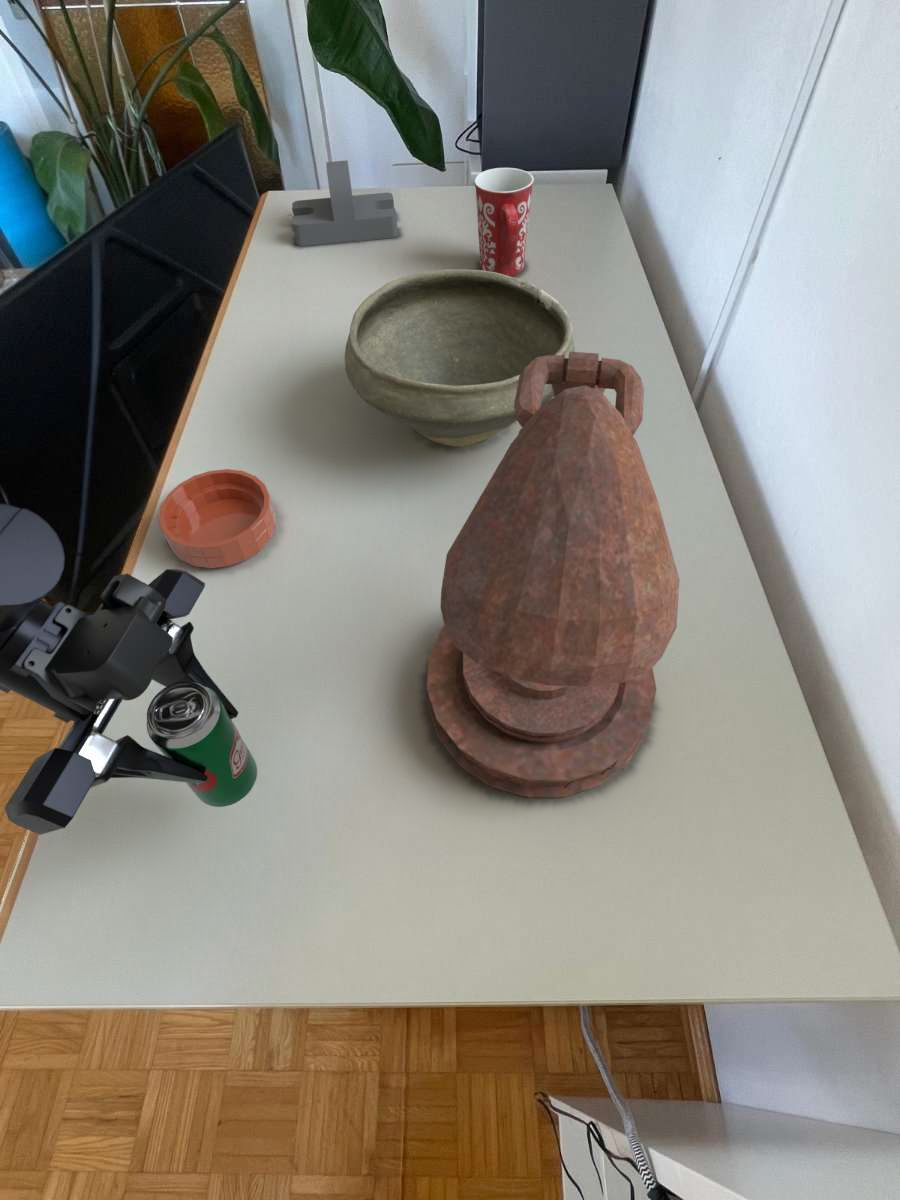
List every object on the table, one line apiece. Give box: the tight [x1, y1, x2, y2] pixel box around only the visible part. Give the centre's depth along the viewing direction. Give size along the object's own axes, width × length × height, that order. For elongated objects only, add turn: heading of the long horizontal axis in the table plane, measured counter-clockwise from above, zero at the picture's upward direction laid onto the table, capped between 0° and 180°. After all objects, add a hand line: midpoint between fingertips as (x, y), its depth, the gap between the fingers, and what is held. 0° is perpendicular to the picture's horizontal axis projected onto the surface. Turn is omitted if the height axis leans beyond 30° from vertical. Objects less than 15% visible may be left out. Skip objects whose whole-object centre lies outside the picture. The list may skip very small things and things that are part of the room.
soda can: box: [146, 681, 258, 808], centre depth 52 cm, size 5×5×12 cm
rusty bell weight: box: [426, 351, 680, 798], centre depth 50 cm, size 21×32×40 cm, turn 170°
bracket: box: [291, 159, 399, 247], centre depth 121 cm, size 10×18×11 cm, turn 98°
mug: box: [473, 167, 535, 277], centre depth 109 cm, size 13×9×14 cm
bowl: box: [344, 268, 576, 448], centre depth 87 cm, size 28×28×14 cm
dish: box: [157, 468, 277, 569], centre depth 79 cm, size 12×12×4 cm
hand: (220, 747), depth 51 cm, fingers closed on soda can, 5 cm apart
